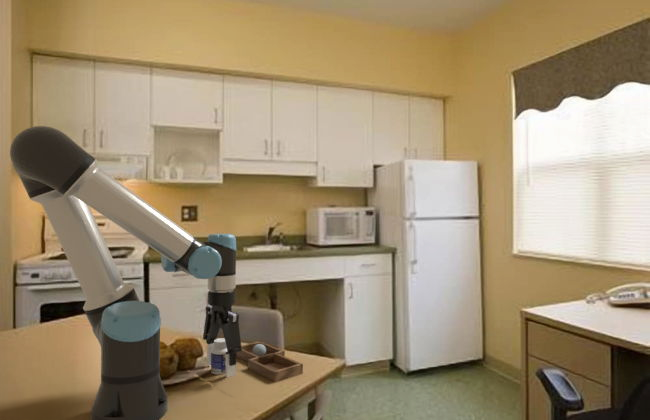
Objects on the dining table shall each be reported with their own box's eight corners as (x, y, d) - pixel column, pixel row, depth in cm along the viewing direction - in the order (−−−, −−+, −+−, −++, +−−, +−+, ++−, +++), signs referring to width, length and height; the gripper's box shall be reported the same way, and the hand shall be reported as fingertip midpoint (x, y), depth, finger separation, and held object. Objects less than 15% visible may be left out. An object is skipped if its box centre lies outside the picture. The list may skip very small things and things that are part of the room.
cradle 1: (258, 368, 123) (258, 357, 123) (234, 357, 132) (234, 347, 132) (284, 361, 129) (284, 351, 129) (259, 350, 138) (259, 341, 138)
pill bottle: (225, 376, 116) (226, 343, 116) (207, 375, 117) (207, 342, 117) (233, 369, 122) (234, 338, 122) (216, 368, 123) (216, 336, 123)
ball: (257, 360, 128) (257, 347, 128) (249, 357, 131) (250, 343, 131) (268, 357, 130) (268, 344, 130) (261, 354, 133) (261, 341, 133)
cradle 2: (275, 383, 112) (275, 372, 112) (247, 370, 121) (248, 359, 121) (302, 375, 118) (302, 364, 118) (274, 362, 127) (274, 352, 127)
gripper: (255, 293, 114) (255, 379, 114) (214, 283, 130) (213, 358, 130) (230, 297, 109) (229, 387, 109) (190, 286, 125) (190, 364, 125)
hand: (221, 371), depth 120 cm, fingers open, 9 cm apart
